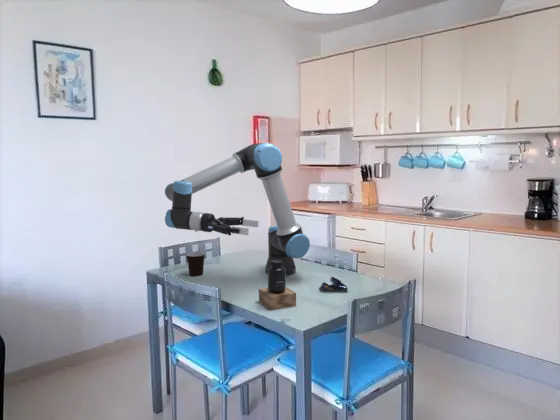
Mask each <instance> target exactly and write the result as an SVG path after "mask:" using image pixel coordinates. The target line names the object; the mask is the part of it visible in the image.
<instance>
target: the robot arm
mask: <svg viewBox="0 0 560 420" xmlns="http://www.w3.org/2000/svg"><path fill="white" fill-rule="evenodd" d="M282 162H283V155H282V151H281V150H280V149H279V147H278V146H277V145H274V144H272V143H269V142H263V143H253V144H250V145H248V146H246V147H244V148H242V149H240V150H237V152H234V153H233V154H232V156H231V157H229V158H226V159H224V160H222V161H220V162H218V163H215V164H213V165H211V166H209V167H207V168H205V169H202V170H200V171H198V172H196V173H194V174H191V175H190V176H188V177H185V178H183V179H181V180H174V181H173V182H171V183H169V184H167V185H166V187H165V189H164V195H165V196H166V198H167V199H168V200H169V201H171V202H172V205H171V208H170V209H167V211H166V213H165V216H164V223H165V225H166V226H167V227H168V228H172V229H177V230H185V231H187V230H188V231H194V232H196V233H197V232H203V233H212V232H217V233H219V234H223V235H227V236H232V234H233V235H241V236H242V235H243V236H249V231H250V228H251V227H252V228H259V225H260V224H259V220H256V219H245V217H244V216H241V217H222V216H220V217H217V218H216V217H215V214H213V213H208V212H200V211H199V212H198V211H191V209H192V196H193V194H195V193H197V192H200V191H202V190H204V189H206V188H208V187H210V186H212V185H215V184H217V183H219V182H221V181H223V180H226V179H228V178H230V177H231V176H233V175H236V174H238V173H240V174H243V173H245V172H247V171H252V170H254V172H255V175H256V179H259V180H260V181H261V182H262V185H263V188H264V190H265V194H266V197H267V200H268V203H269V206H270V208H271V212H272V214H273V217H274V220H275V223H276V225H272V226H269V227H268V231H267V235H268V237H267V239H268V240H267V241H268V242H267V243H268V249H267V250H268V255H267V256H268V258H267V260H266V264H265V266H264V271H265V273H266V274H267V275H268V269H269V268H270V267H271V261H272V260H282V261H283V268H285V270H286V276H291V275H294V274H295V273H296V271H297V266H296V264H295V261H294V259H300V258H303V257H304V256H306V254H307V253H308V251H309V249H310V245H311V244H310V243H311V242H310V238H309V237H308V235H306V234H304V233H303V230H302V227H301V224H299V223H297V222H296V218H295V215H294V212H293V209H292V206H291V203H290V200H289V197H288V194H287V191H286V188H285V184H284V181H283V179H282V176H281V175H282V174H281V173H282V171H283V167H282ZM249 227H250V228H249Z"/></svg>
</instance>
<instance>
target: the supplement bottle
mask: <svg viewBox="0 0 560 420" xmlns="http://www.w3.org/2000/svg"><path fill="white" fill-rule="evenodd" d="M286 276H287V275H286V270H285V268H283V261H282V260H272V261H271V267H270V268H269V269H268V274H267V288H268V291H269V292H271V293H283V292H284V291H285V286H286V278H287V277H286Z"/></svg>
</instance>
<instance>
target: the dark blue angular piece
mask: <svg viewBox="0 0 560 420" xmlns="http://www.w3.org/2000/svg"><path fill="white" fill-rule="evenodd" d="M329 281H330V282H331V284H328V283H327V282H322V283H321V285H320V286H319V287H318V289H319V291H321V290H327V291H340V290H344V291H346V292H347V290H349V289H348V287H347V285H346V284H344V283H342V281H341V280H340V279H339V278H338V277H337V278H336V277H335V276H332V275H331V276H330V278H329ZM340 286H341V287H340ZM342 286H345V287H346V288H344V287H342Z"/></svg>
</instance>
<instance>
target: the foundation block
mask: <svg viewBox="0 0 560 420" xmlns="http://www.w3.org/2000/svg"><path fill="white" fill-rule="evenodd" d="M258 301H259V302H260V303H261V304H262V305H263V306H265V308H267V309H268V310H270V311H271V310H277V309H282V308H283V309H285V308H290V307H296V306H297V292H296V291H293V290H292V289H290V288H289V287H288V286H286V285H285V291H284V292H283V293H271V292H269V291H268V287H263V288H262V287H261V288H258Z"/></svg>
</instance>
